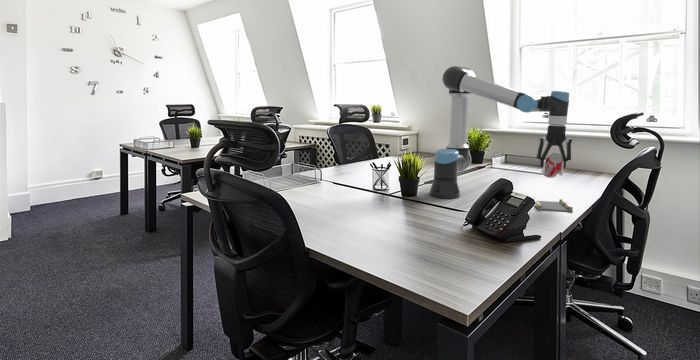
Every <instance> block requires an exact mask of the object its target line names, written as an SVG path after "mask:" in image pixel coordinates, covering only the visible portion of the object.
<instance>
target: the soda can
mask: <svg viewBox="0 0 700 360" xmlns="http://www.w3.org/2000/svg"><path fill="white" fill-rule="evenodd" d="M545 161H546V165H545V175H543V176H544V177H546V178H550V179H551V178H554V177H557V175H559V170H560V168H561V165H562V163H563V158H562V156H561V153H558V152H553V153H550V154H549V155H548V156H546V158H545Z"/></svg>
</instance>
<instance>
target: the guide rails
mask: <svg viewBox="0 0 700 360" xmlns="http://www.w3.org/2000/svg"><path fill="white" fill-rule="evenodd" d="M532 198H533V199H534V200H535V201H536V206H537V207H538V209H542V205H541V204H540V203H539V202H538V201H539V200H537V199H536V198H535V197H532ZM558 202H560V203H561V204H562V205H563V206H565V207H566V208H567V209H568V210H569V211H573V206H572V205H570V203H568V202H567V201H566V200H564V199H563V198H559V201H558ZM538 209H537V210H538Z"/></svg>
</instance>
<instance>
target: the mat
mask: <svg viewBox="0 0 700 360" xmlns="http://www.w3.org/2000/svg"><path fill="white" fill-rule="evenodd" d="M537 201H538V202H539V203H540V204H541V205H542V209H538V207H537V206H536V205H535V206H534V208H536V210H538V211H546V212H547V211H548V212H550V211H552V212H567V213H573V210H572V211H569V210H568V209H567V208H566V207H565V206H563V205H562V204H561V203H560V202H559V201H548V200H537Z"/></svg>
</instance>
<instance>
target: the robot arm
mask: <svg viewBox="0 0 700 360" xmlns="http://www.w3.org/2000/svg"><path fill="white" fill-rule="evenodd" d="M442 84H443V86H445V88H446V89H448V95H449V96H450V97H451V102H450V103H451V104H450V105H451V106H450V107H451V108H450V129H449V142H448V144H447V145H446V147H445V148H441V149H437V151H435V154H434V169H433V170H434V171H433V181H432V184H431V187H430V190H429V196H431V197H434V198H438V199H457V198H459V197H460V196H461V195H460V194H461V191H460V187H459V183H458V173H459V172H460V173H461V172H463V171H465V170H466V169H468V168H469V167H470V165H471V163H472V156H471V153H470V147H469V145H468V144H467V139H468V138H467V134H468V115H469V102H470V101H469V99H470V97H471V95H475V96H479V97H482V98H483V99H488V100H489V101H493V102H496V103H499V104H502V105H506V106H508V107H511V108H514V109H516V110H519V111H521V112H523V113H526V114H527V113H533V112H538V113H539V112H542V113H543V112H544V113H546V112H547V113H548V121H547V123H548V125H547V130H546V131H547V134H546V135H545V136H544V137H539V138H538V139H539V141H538V142H539V143H538V145H539V146H538V149H537V153H536V159H537V160H539V161H540V162H539V167H540V168H541V175H542V176H544V175H545V165H546V158H547V157H548V156H547V155H548V154H549V151H550V150H551V148H552V146H553V147H554V146H557V147H558V150H559V154H560V155H561V156H562V158H563V163H562V165H561V168H560V170H559V172H558V175H559V176H561V177H562V176H563V173H564V169H566V167H567V166H566V165H567V162H568V161H571V160H572V141H573V139H572V138H570V137H569V138H568V137H566V131H567V126H566V125H567V122H568V121H567V120H568V113H569V112H568V111H569V103H570V92H569V91H567V90H553V91H551V93H550V94H548V95H547V94H546V95H543V94H541V95H540V94H529V93H526V92H523V91H520V90H516V89H513V88H510V87H507V86H505V85H501V84H498V83H495V82H492V81H489V80H485V79H482V78H479V77H476V73H475V72H474V71H473V70H472V69H470V68H469V67H466V66H457V65H454V66H450V67H448V68H446V70H445V71H444V73H443V74H442ZM546 142H547V144H546V147H545V149H543V147H544V143H546ZM564 142H565V144H566V145H565V146H566V147H565V148H566V149H564V145H563V144H564ZM543 150H544V151H543ZM565 150H566V153H565Z"/></svg>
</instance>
